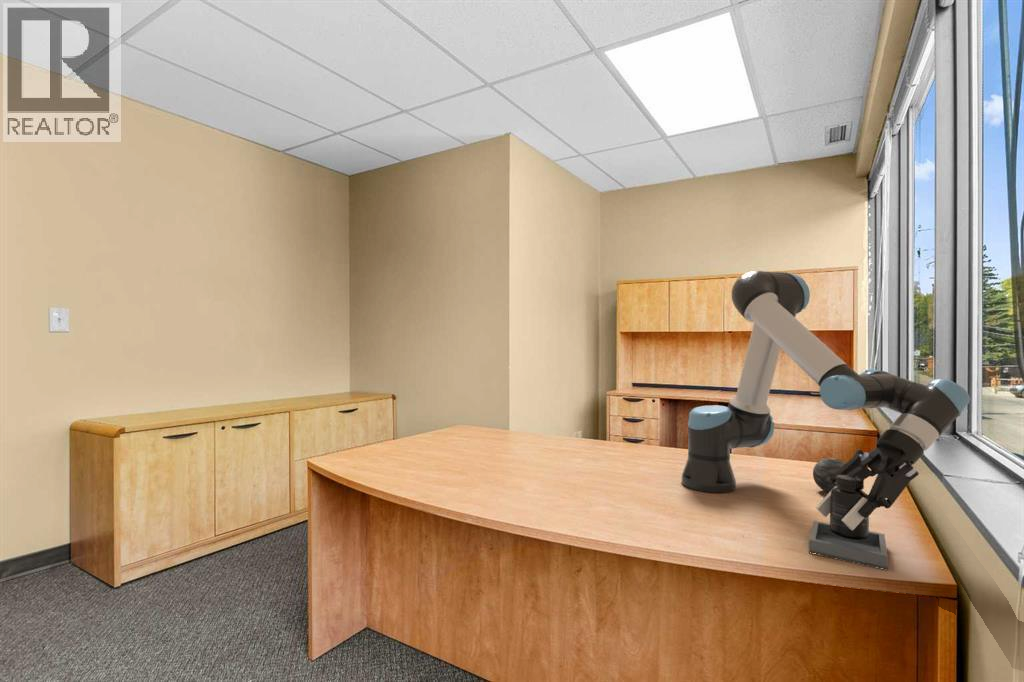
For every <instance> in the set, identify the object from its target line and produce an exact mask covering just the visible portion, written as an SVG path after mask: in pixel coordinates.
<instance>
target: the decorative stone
mask: <svg viewBox="0 0 1024 682" xmlns="http://www.w3.org/2000/svg"><path fill="white" fill-rule="evenodd" d="M846 463H847V462H845V461H843V460H841V459H839V458H836V457H827V458H823V459H820V460H819V461H817V463H815V465H814V467H813V469H812V476H813V480H814V482H815V484H816V486H818V488H820V489H821V490H822V491H824V492H826V493H828V492H829V491H830V489H831V488H832V487H833V484H832V482H831V481H830V480H829V479H830V478H831V477H832V476H833V475H834V474H835V473H836V472H837V471H838V470H839V469H841V468H842V467H843V466H844V465H845V464H846Z"/></svg>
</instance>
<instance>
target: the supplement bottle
mask: <svg viewBox="0 0 1024 682" xmlns="http://www.w3.org/2000/svg"><path fill="white" fill-rule="evenodd" d="M864 481H865V480H863V479H862V478H859V477H856V476H850V475H837V476H836V485H837V487H835V488H833V489H832V490H831V494H830V513H829V524H830V530H831V532H832V533H834V534H835V535H837V536H840V537H843V538H847V539H853V540H865V539H867V538H868V536H869V531H870V515H869V516H868V517H867V518H864V519H863V520H862V521H861V522H860V523H859V524H858V525H857V527H856V528H855V529H854V530H851V529H849V528H848V527H847V526H846V525H845V523H844V522H843V521H842V519H843V518H844V517H845V515H846V514H847V513H848V512H849V511H850V510H851V509H852V508H853V507H854V506H855V505H856V504H857V503H858V501H859V500H860V499H861V498H862V497H864V498H866V499H867V500H868V498H867V497H866V496H865V494H866V495H868V493H866V492H865V491H863V490H864V489H865V485H864V484H865V482H864Z"/></svg>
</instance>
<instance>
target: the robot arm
mask: <svg viewBox="0 0 1024 682" xmlns="http://www.w3.org/2000/svg"><path fill="white" fill-rule="evenodd" d="M810 294H811V292H810V288H809V286H808V284H807V283H806V280H804V279H803V278H802V277H801V276H800V275H798V274H794V273H789V272H785V271H784V272H783V271H781V272H779V271H765V270H764V271H763V270H752V271H748V272H746V273H744V274H742V275H741V276H739V277H738V279H736V281H735V282H734V284H733V286H732V287H731V301H732V303H733V306H734V308H735V309H736V310H737V312H738V313H739V314H740V315H741V316H742V317H743V318H744V319H745V320H746V321H747V322H748V323H749V322H750V323H753V325H752V328H751V334H750V338H749V341H748V346H747V350H746V354H745V358H744V361H743V366H742V370H741V373H740V374H741V375H740V377H739V383H738V387H737V392H736V395H735V396H733V397H732V398H730V399H729V401H728V405H727V406H725V405H716V404H715V405H713V404H712V405H701V406H697V407H694V408H692V409H691V410H690V411H689V414H688V421H687V426H688V436H687V437H688V441H687V442H688V443H687V444H688V446H687V447H688V449H687V450H688V451H687V454H688V456H687V460H686V463H685V466H684V468H683V470H682V473H681V484H682V485H684V486H685V487H686V488H689V489H692V490H696V491H700V492H704V493H705V492H706V493H715V494H716V493H718V494H719V493H720V494H723V493H731V492H734V491H736V489H737V482H736V481H737V480H736V476H735V475H734V474H735V473H734V471H733V468H732V464H731V460H730V459H731V458H730V457H731V455H730V454H731V449H732V450H733V449H742V448H755V447H758V446H762V445H765V444H767V443H768V442H769V441H770V440H771V438H772V437H773V436H774V432H775V422H774V421H773V420H774V419H773V416H772V414H771V408H770V407H769V405H768V403H767V402H768V398H769V395H770V391H771V387H772V383H773V380H774V377H775V371H776V368H777V365H778V361H779V357H780V352H781V350H782V351H783V352H784V353H785V354H786V355H787V356H788V357H789V358H790V359H791V360H793V362H794V363H795V364H797V366H798V367H799V368H801V369H802V370H803V372H805V373H806V374H807V376H808V377H810V378H811V379H812V380H813V381H814V382H815V383H816V384H817V385H818V386H819V395H820V398H821V401H822V403H823V404H824V405H825V406H827V407H828V408H830V409H833V410H839V411H840V410H841V411H855V410H862V409H877V408H878V409H879V408H880V409H881V408H886V409H889V410H891V411H894V412H896V413H900V415H899V416H898V417H897V418H895V420H894V421H893V422H892V423H891V424H890V425H889V426H888V429H886V430H885V431H884V432H883V434H881V435H880V436H879V437H878V439H877V440H876V447H875V448H874V449H872V450H871V451H869V452H864V451H863V450H862V449H857V450H856V451H855V453H854V455H853V457H851V458H850V459H849V460H848V461H846V462H845V463H846V464H845V465H844V466H843V467H842V468H841V469H839V470H838V471H837V472H836V473H835V474H834V475H833V476H832V477H831V478H830V479H829V480H830V481H831V482H832V484H833V487H832V488H831V489H830V491H829V492H826V493H825V494H824V497H823V499H822V500H821V501H820V502H819V503H818V504H817V505H816V506H815V508H816V510H817V511H818V512H819V513H820V514H821V515H822V516H823V517H825V518H827V516H829V515H830V494H831V490H832V489H833V488H835V487H837V485H836V476H837V475H850V476H856V477H859V478H862V479H863V480H864V481H865V479H867V478H869V477H874V476H876V477H875V479H874V482H873V484H872V486H871V489H870V491H869V493H868V494H867V493H866V494H867V495H866V494H865V496H866V497H867V498H868V500H867V499H866V498H864V497H862V498H861V499H860V500H859V501H858V503H857V504H856V505H855V506H854V507H853V508H852V509H851V510H850V511H849V512H848V513H847V514H846V515H845V517H844V518H843V519H842V521H843V522H844V523H845V525H846V526H847V527H848V528H849V529H851V530H854V529H855V528H856V527H857V525H858V524H859V523H860V522H861V521H862V520H863V519H864V518H867V517H868V516H869V517H870V515H871V514H872V513H873V512H874V511H875V510H876V509H877V508H880V507H883V508H885V509H890V508H891V507H892V506H893V505H894V503H895V502H896V500H897V499H898V498H899V497H900V495H901V493H903V491H904V490H905V489H906V487H907V486H908V485H909V483H910V482H911V481H912V480H914V479H915V478H916V477H918V476H919V474H920V473H919V472H918V471H917V470H916V469H915V468H914V466H913V465H915V464H916V462H918V461H919V460H920V458H921V457H922V456H924V452H925V451H927V450H929V448H931V446H932V445H933V444H934V443H935V442H936V440H937V439H938V438H939V437H940V436H941V435H942V433H944V431H946V430H947V428H949V426H950V425H951V424H953V422H954V421H955V420H957V418H958V417H960V416H961V414H962V412H963V411H964V410H965V409H966V408H967V406H968V405H969V404H970V402H971V397H970V395H969V392H968V391H967V390H966V389H965V387H962V386H961V385H960V384H959V383H956V382H954V381H952V380H950V379H947V378H934V379H933V380H931V381H930V382H929V383H928V384H926V385H925V384H923V383H918V382H915V381H912V380H909V379H907V378H903V377H900V376H898V375H895V374H892V373H889V372H887V371H885V370H879V369H875V368H868V369H865V370H864V371H862V372H861V373H859V374H858V373H857V372H856V371H855V370H854V369H853V368H851V366H849V365H848V364H847V363H846V362H845V361H843V359H842V358H841V357H839V356H838V355H837V354H836V353H835V352H834V351H833V350H832V349H831V348H830V347H828V346H827V344H825V343H824V342H822V341H821V339H819V338H818V337H817V336H816V335H815V334H814V333H812V332H811V331H810V329H808V328H807V327H806V326H805V325H804V324H803V323H802V322H800V321H799V319H797V318H796V316H797V315H798V314H799V313H801V312H802V311H803V310H806V308H807V306H808V304H809V302H810V298H811V295H810Z"/></svg>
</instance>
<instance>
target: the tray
mask: <svg viewBox="0 0 1024 682" xmlns="http://www.w3.org/2000/svg"><path fill="white" fill-rule="evenodd" d="M808 541H809V543H808V544H809V545H808V546H809V547H808V553H809V552H811V553H816V554H820V555H823V556H822V557H825V556H827V557H826V558H829V557H832V558H831V559H834V558H837V559H836V560H838V559H841V560H840V561H843V560H845V561H844V562H847V561H850V562H849V563H852V562H855V563H854V564H856V563H860V564H859V565H861V564H864V565H863V566H865V565H869V566H868V567H870V566H873V567H872V568H874V567H878V568H877V569H879V568H883V569H887V570H888V557H889V556H888V548H887V542H886V535H885V534H884V533H880V532H875V531H870V530H869V536H868V538H867V539H865V540H853V539H847V538H843V537H840V536H837V535H835V534H834V533H832V532H831V530H830V523H827V522H823V521H817V520H813V523H812V527H811V532H810V535H809V539H808ZM811 553H810V554H811ZM816 554H815V555H816ZM820 555H819V556H820ZM883 569H882V570H883Z"/></svg>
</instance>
